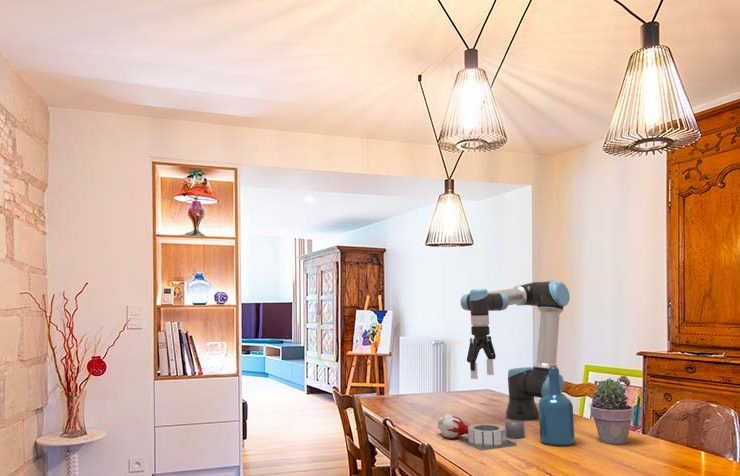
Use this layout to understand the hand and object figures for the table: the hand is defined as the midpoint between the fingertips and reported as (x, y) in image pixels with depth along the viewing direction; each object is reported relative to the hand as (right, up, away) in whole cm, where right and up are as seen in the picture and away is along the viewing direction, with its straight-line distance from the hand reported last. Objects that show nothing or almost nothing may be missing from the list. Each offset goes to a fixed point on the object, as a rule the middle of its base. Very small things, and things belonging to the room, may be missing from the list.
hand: (482, 376), depth 238 cm
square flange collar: (-1, -22, -15) cm, 27 cm away
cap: (+12, -23, -6) cm, 27 cm away
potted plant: (+47, -21, -17) cm, 54 cm away
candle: (-13, -24, -5) cm, 28 cm away
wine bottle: (+26, -22, -16) cm, 38 cm away
